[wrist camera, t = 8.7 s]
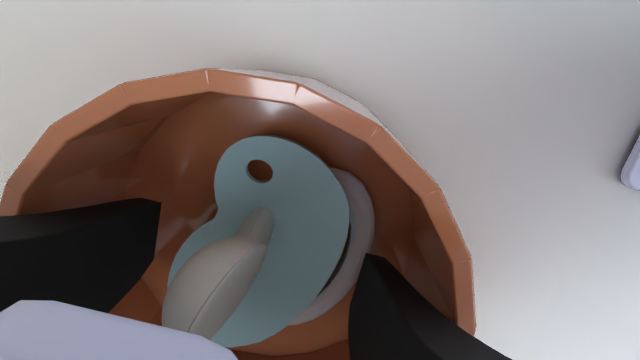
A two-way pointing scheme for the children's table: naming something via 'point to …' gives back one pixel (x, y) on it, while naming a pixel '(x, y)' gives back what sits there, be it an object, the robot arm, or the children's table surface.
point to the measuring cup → (206, 151)
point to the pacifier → (270, 246)
